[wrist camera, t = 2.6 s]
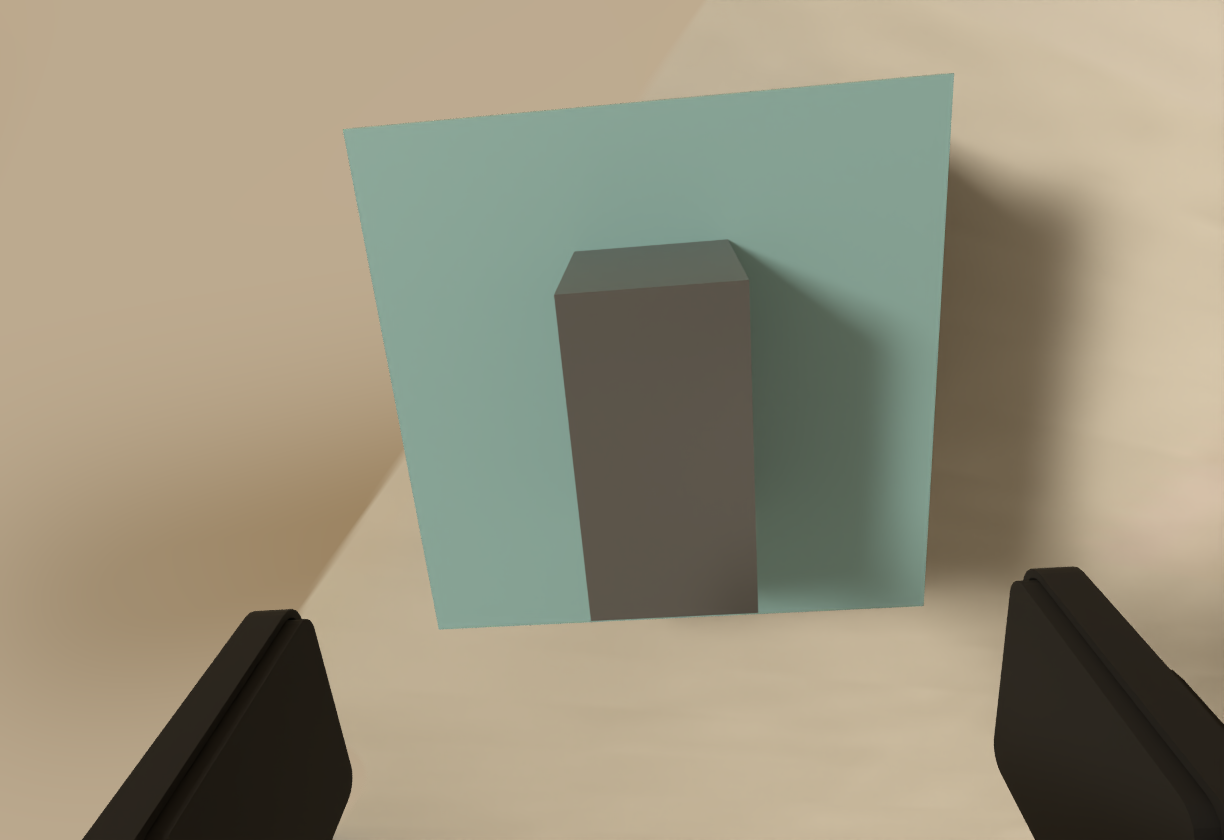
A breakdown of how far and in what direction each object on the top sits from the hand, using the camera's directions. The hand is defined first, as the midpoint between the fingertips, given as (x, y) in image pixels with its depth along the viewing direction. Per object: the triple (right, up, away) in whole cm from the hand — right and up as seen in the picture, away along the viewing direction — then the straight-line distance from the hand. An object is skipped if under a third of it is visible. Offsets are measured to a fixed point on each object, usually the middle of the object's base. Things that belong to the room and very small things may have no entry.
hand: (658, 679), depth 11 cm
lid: (+1, +5, +13) cm, 14 cm away
